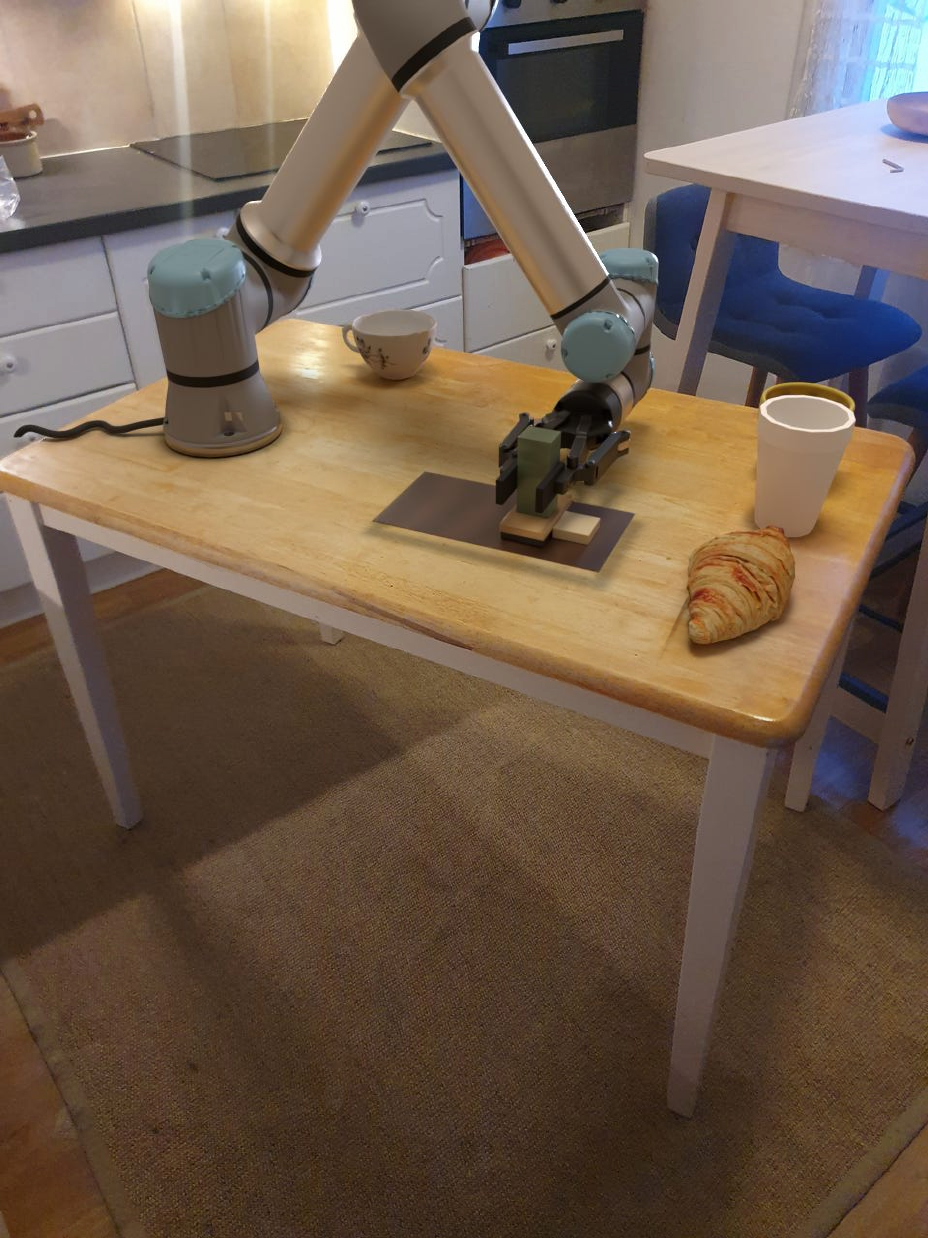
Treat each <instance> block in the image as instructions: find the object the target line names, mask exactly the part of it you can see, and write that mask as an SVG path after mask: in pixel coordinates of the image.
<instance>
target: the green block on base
mask: <svg viewBox="0 0 928 1238" xmlns="http://www.w3.org/2000/svg"><path fill="white" fill-rule="evenodd" d="M560 445H561V431H555V430H549V429H544V428H538V427H532V426H528V427H527V428H526V429H525V430H524V431H523V432H522V433H521V435H520V436H519V437H518V460H517V489H516V490H517V504H516V505H515V506H514V507H513V509H512V510H511V511H510V512H509V513H508V514H507V516H506V517H505V518H504V519H503V520H502V522H501V523H500V524H499V531H501V538H502V539H506V540H511V541H516V542H520V543H525V544H529V545H534V546H538V547H543V546H544V545H545V544H546V542H547V541H548V540H549V538H550V537H551V536H552V532H553V527H554V525H555V524H556V523H557V521H558V520H559V519H560V517H561V516H562V515H563V513H564V512H565V511H568V512H569V511H570V510H571V503H572V501H574V500H573V499H574V495H572V494H568V493H566V494H564V495H560V494H557V495H556V496H555V498H554V499H553V500H552V501H551V503H550V504H549V505H548V507H547V508H546V509H545V510H544V512H543V513H537V512H535V498H536V487H537V486H538V485H539V484H540V483H541V481H542V480H543V479H544V478H545V477H546V475H547V474H548V473H549V472H550V471H551V470H552V468H553V467H554V466H555V465H556V464H557V462H558V461H561V450H560Z"/></svg>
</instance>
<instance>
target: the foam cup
mask: <svg viewBox="0 0 928 1238" xmlns="http://www.w3.org/2000/svg"><path fill="white" fill-rule="evenodd" d="M758 410H759V409H758ZM757 418H758V421H757V420H756V434H757V449H756V471H755V492H754V493H755V496H754V524H755V525H756V526H757V527H758V528H759V529H765V528H766V527H767V526H770V525H774V526H776V527H779V528H783V530H784V535H785V536H786V538H800V537H803V536H807V535H809V534H811V532H812V531H813V530H814V527H815V525H816V524H817V521H818V519H819V515H820V513H821V511H822V508H823V506H824V504H825V502H826V498H827V496H828V494H829V491H830V488H831V486H832V483H833V482H834V479H835V476H836V473H837V471H838V468H839V466H840V464H841V461H842V459H843V456H844V454H845V451H846V448H847V446H848V445H849V444H850V443H851V441H852V437H853V433H854V429H855V425H856V421H857V420H856V417H855V412H854V413H853V412H852V411H851V410H849V409H848V408H847V407H845V406H844V405H842V404H840V403H837V402H834V401H831V400H828V399H825V398H820V397H813V396H806V395H786V396H780V397H776V398H772V399H768V400H767V401H766V402H764V403H763V404H762V405H761V406H760V410H759V415H758V414H757Z"/></svg>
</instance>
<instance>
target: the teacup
mask: <svg viewBox="0 0 928 1238" xmlns="http://www.w3.org/2000/svg"><path fill="white" fill-rule="evenodd" d="M437 326H438V321H437V319H435V317H434V316H432V315H431V314H429V313H426V312H425V311H420V310H415V309H398V308H397V309H395V308H394V309H383V310H378V311H373V312H371V313H369V314H367V315H366V314H363V315H360V316H357V317H356V318H354V319H353V321H352V322H346V323H345V324H344V325H343V326H342V328H341V332H342V339H343V342H344V344H345V345H346V347H348V349H350V351H351V352H354V353H357V354H359V355H360V356H361V358H362V360H363V361H364V362H365V363H366V365H367V366H368V367H369V368H370V369H371V370H373V371H374V372H375V373H376V374H377V375H378V376H379V377H380V378H383V379H385V380H390V381H399V380H405V379H408V378H411V377H413V376H415V374H416V373H417V372H418V371H419V370H420V369H421V367H422V366H423V365H424V364H425V362H426V361H427V360H428V358H429V356H430V354H431V352H432V350H433V346H434V343H435V339H436V332H437V328H438V327H437ZM349 331H352V335H353V336H352V337H353V340H354V343H355V345H354V344H352V343H351V342H350V341H349V338H348V333H349Z"/></svg>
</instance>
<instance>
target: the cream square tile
mask: <svg viewBox="0 0 928 1238" xmlns="http://www.w3.org/2000/svg"><path fill="white" fill-rule="evenodd" d="M599 528H600V518H597V517H592V516H588V515H583V514H578V513H573V512H568V511H565V512H564V513H563V515H562V516H561V517H560V519H559V520H558V521H557V523H556V524H555V525H554V527H553V532H552V537H553V538H558V539H562V540H567V541H571V542H576V543H580V544H585V545H588V544H589V543H590V541H591V540H592V538H593V537H594V535H595V534H596V532H597V531H598V529H599Z"/></svg>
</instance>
